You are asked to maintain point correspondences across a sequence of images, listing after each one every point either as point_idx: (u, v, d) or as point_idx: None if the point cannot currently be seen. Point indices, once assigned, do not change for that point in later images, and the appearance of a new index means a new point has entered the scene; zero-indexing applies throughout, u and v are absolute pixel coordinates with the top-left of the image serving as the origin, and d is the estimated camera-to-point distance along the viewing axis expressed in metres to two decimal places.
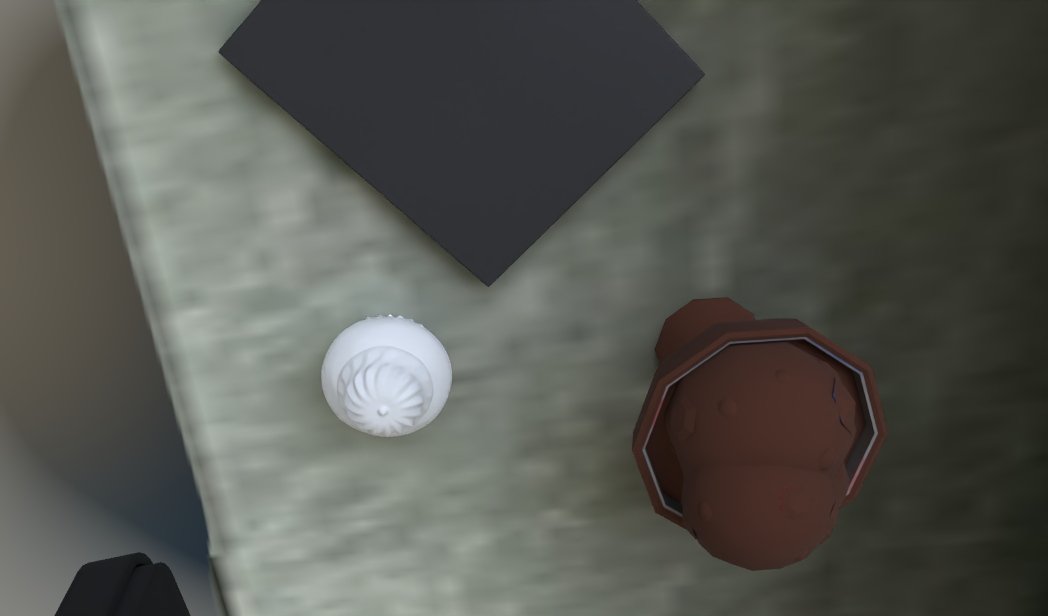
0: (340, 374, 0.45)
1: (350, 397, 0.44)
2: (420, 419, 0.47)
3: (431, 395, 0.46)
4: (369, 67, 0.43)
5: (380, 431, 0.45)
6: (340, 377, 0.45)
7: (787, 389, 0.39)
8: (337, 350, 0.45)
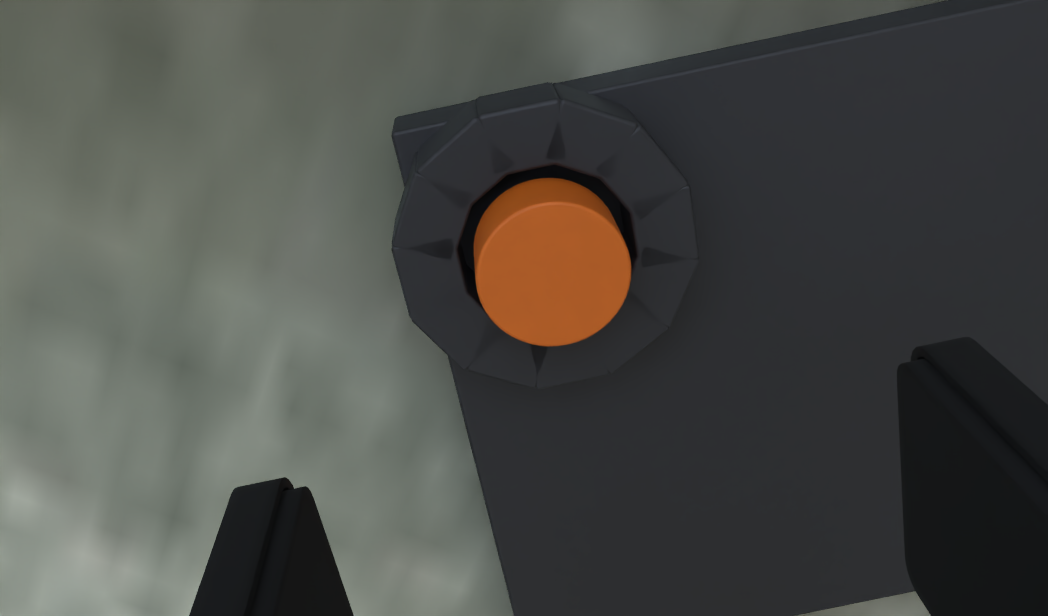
0: None
1: None
2: None
3: None
4: (707, 502, 0.23)
5: None
6: None
7: None
8: None
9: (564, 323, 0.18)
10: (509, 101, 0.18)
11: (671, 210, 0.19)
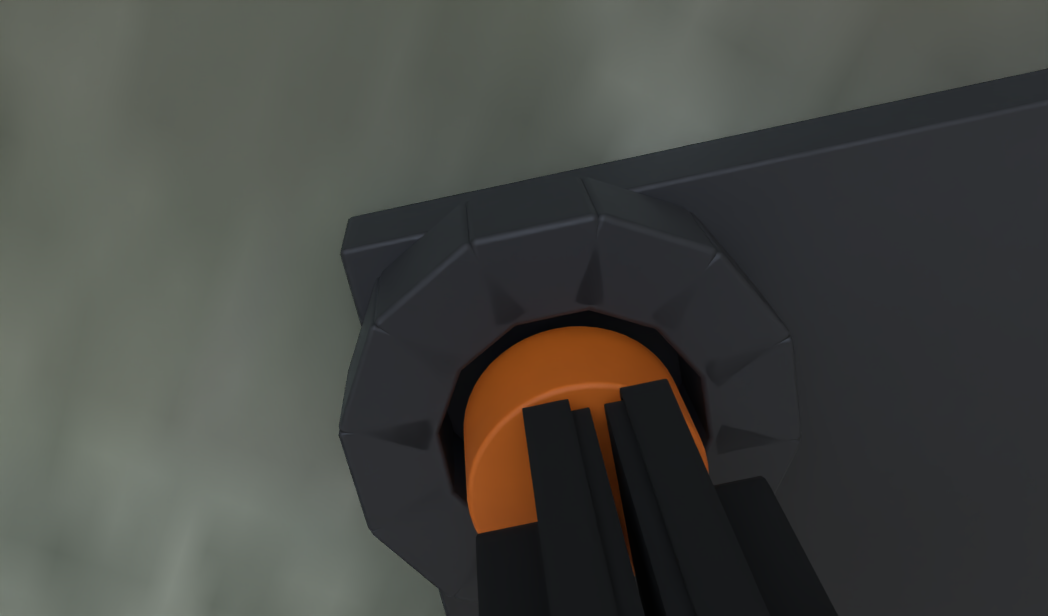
0: None
1: None
2: None
3: None
4: None
5: None
6: None
7: None
8: None
9: None
10: (518, 213, 0.12)
11: (763, 372, 0.12)
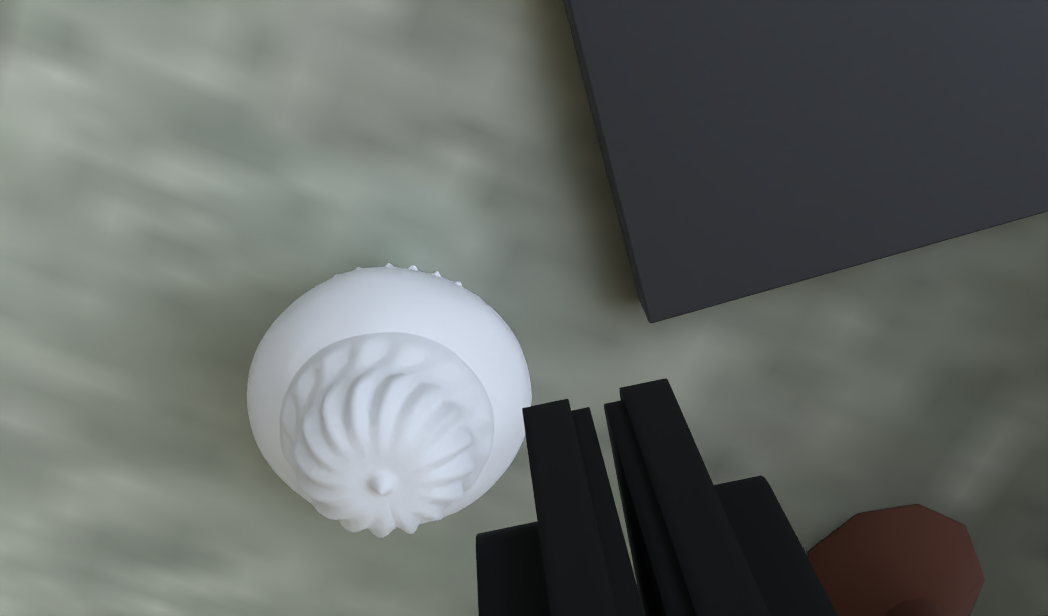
0: (319, 358, 0.20)
1: (327, 421, 0.19)
2: None
3: (472, 484, 0.21)
4: None
5: (347, 518, 0.19)
6: (315, 362, 0.20)
7: None
8: (336, 304, 0.20)
9: None
10: None
11: None
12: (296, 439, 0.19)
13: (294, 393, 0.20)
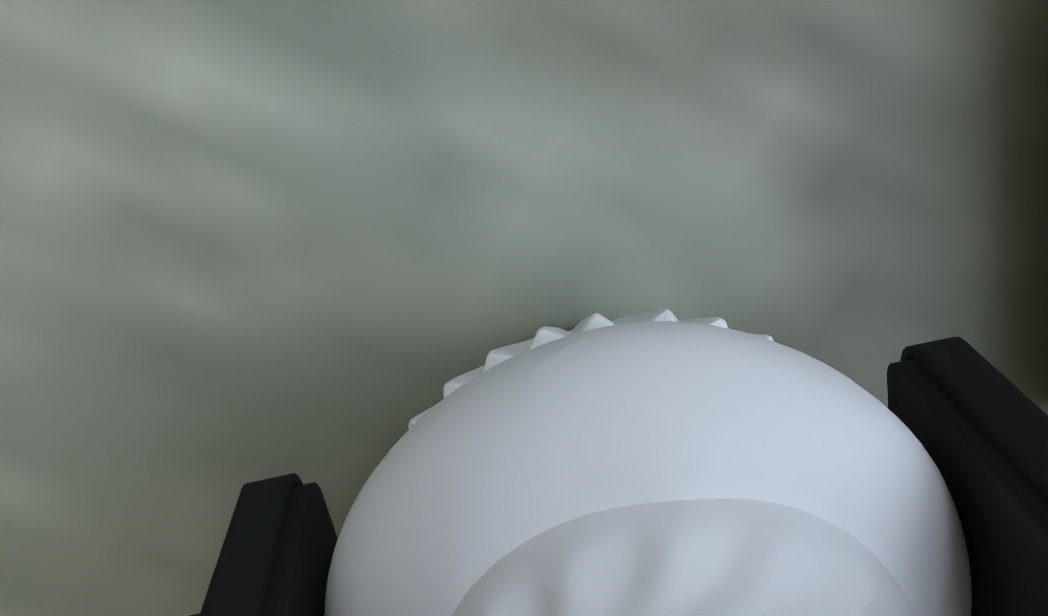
0: (550, 556, 0.07)
1: None
2: None
3: None
4: None
5: None
6: (539, 566, 0.07)
7: None
8: (592, 414, 0.08)
9: None
10: None
11: None
12: None
13: None
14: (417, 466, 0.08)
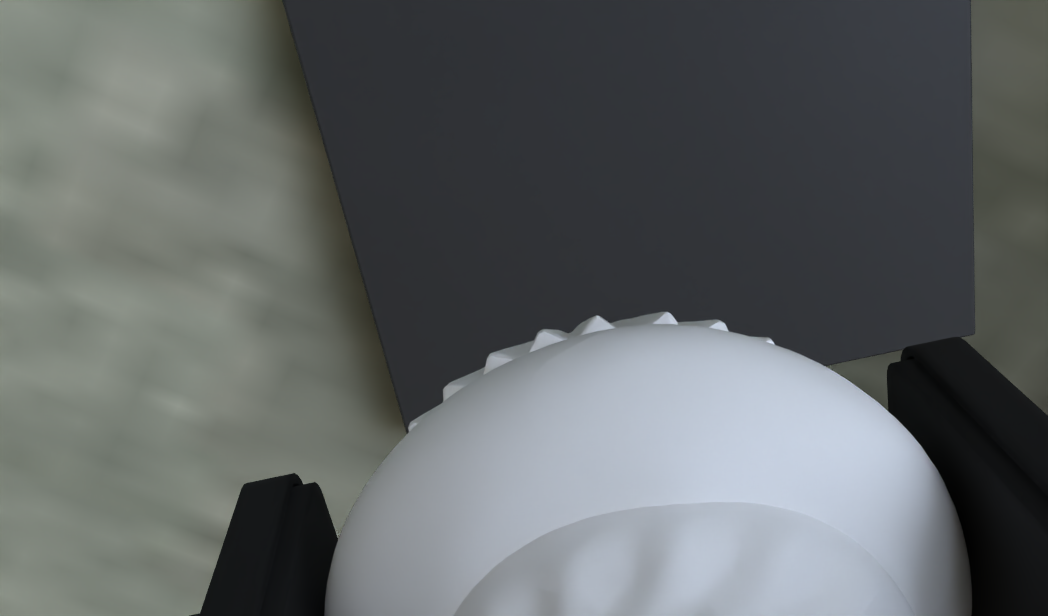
0: (550, 560, 0.07)
1: None
2: None
3: None
4: None
5: None
6: (539, 572, 0.07)
7: None
8: (592, 417, 0.08)
9: None
10: None
11: None
12: None
13: None
14: (417, 469, 0.08)
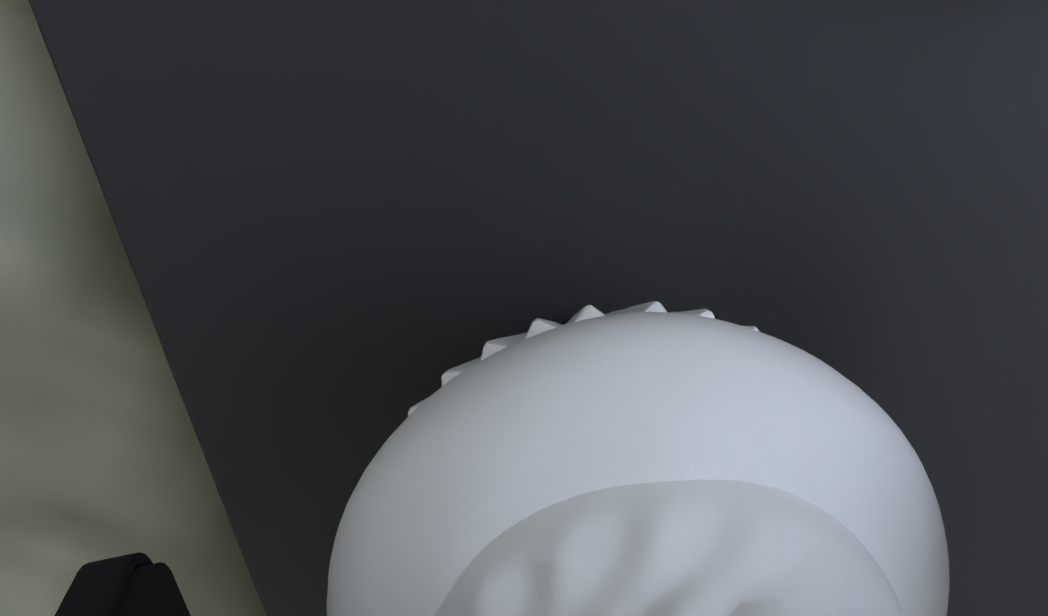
0: (544, 536, 0.08)
1: None
2: None
3: None
4: (425, 72, 0.11)
5: None
6: (532, 544, 0.08)
7: None
8: (584, 399, 0.08)
9: None
10: None
11: None
12: None
13: (471, 615, 0.08)
14: (416, 450, 0.09)
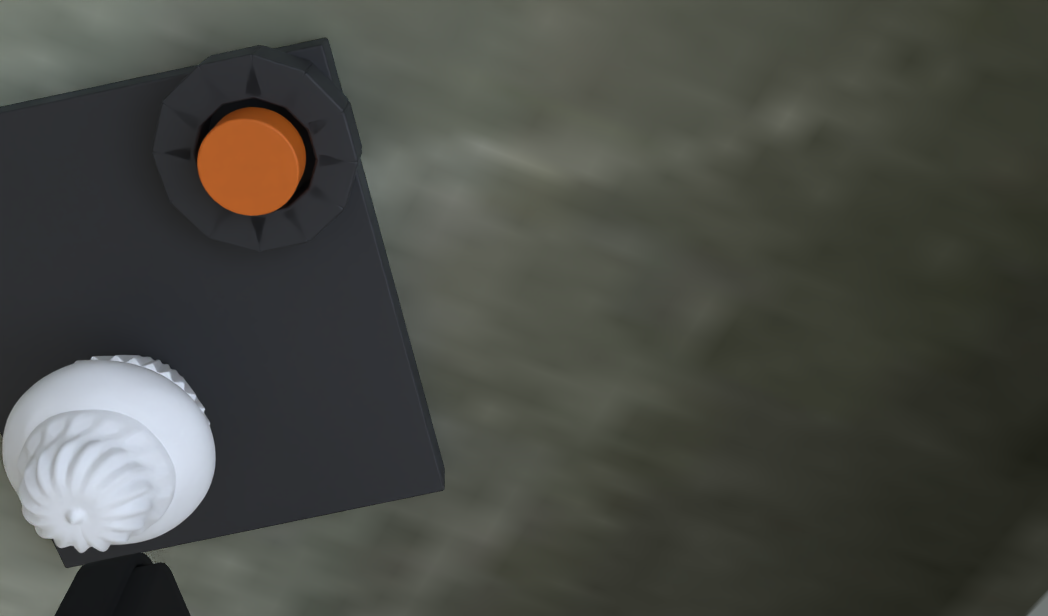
0: (45, 424, 0.28)
1: (38, 471, 0.27)
2: None
3: (159, 518, 0.29)
4: (55, 271, 0.31)
5: (53, 538, 0.28)
6: (42, 427, 0.28)
7: None
8: (62, 386, 0.28)
9: (214, 175, 0.28)
10: (352, 128, 0.29)
11: (291, 232, 0.30)
12: (22, 480, 0.28)
13: (26, 447, 0.28)
14: (20, 402, 0.29)
